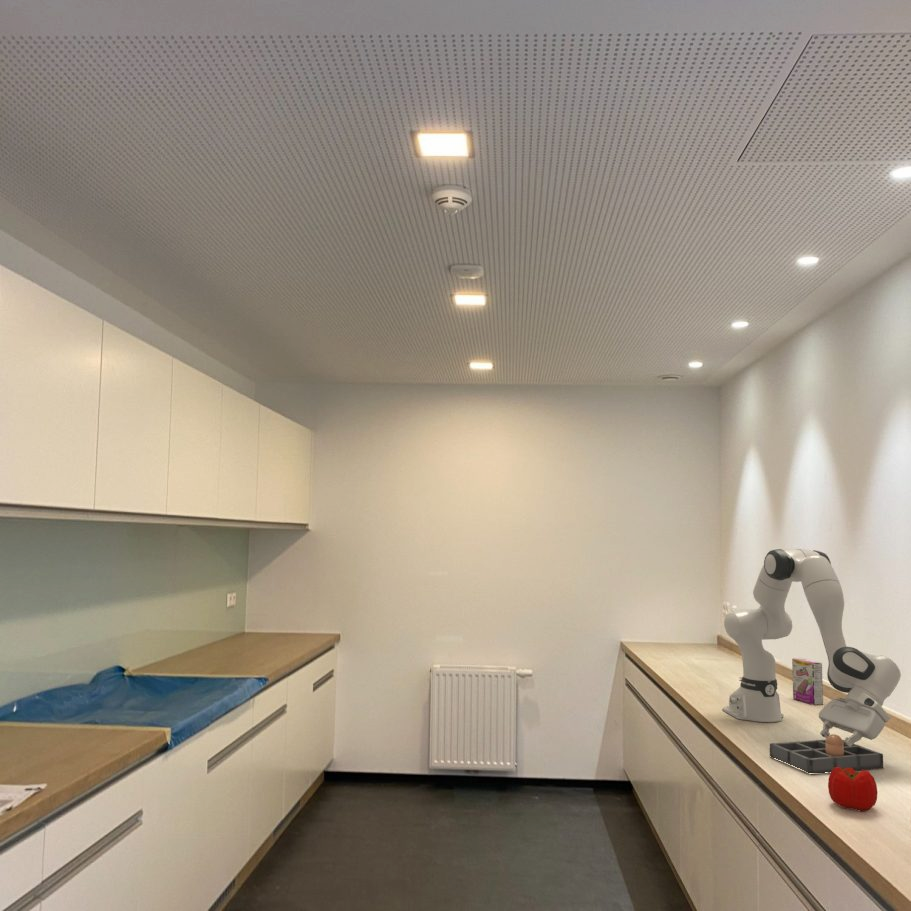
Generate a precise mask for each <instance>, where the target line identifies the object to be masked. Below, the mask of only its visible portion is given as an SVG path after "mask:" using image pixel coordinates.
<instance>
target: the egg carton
mask: <svg viewBox="0 0 911 911" xmlns="http://www.w3.org/2000/svg"><path fill="white" fill-rule="evenodd" d="M842 740H843V743H844V740H845V739H842ZM825 741H826V739H814V740H801V741H787V742H786V741H784V742H772V743H769V757H770V756H771V757H773V758H776V759H778V760H781V761H783V762H786V763H788V764H790V765H793V766H795V767H797V768H800V769H802V770H804V771H806V772H808V773H823V774H826V773H825V772H831V771H832V770H833V769H834V768H835V767H840V768H841V769H842V770H843V769H845V768H853V769H854V770H855V771H856V772H858V771H862V770H865V771H869V770H879V769H881V768H882V769H884V754H883V753H882V752H878V751H875V750H873V749H870V748H868V747H865V746H861V745H859V744H856V743H853V745H852V746H851V747H850V746H847V745H845V743H844V756H834V757H833V756H831V755H828V754H826V744H825ZM771 757H770V758H771ZM773 758H772V759H773ZM778 760H777V761H778Z"/></svg>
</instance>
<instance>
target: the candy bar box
mask: <svg viewBox="0 0 911 911" xmlns="http://www.w3.org/2000/svg"><path fill="white" fill-rule="evenodd" d="M791 661H792V662H791V663H792V664H791V665H792V696H793V698H792V700H795V701H799V702H802V703H805V704H809V705H812V704H813V705H814V706H818V705H817V704H821V705H824V694H823V693H824V688H823V685H824V684H823V662H821V661H820V662H819V661H816V660H812V659H807V658H803V657H796V658H795V657H794V658H792V660H791ZM813 705H812V706H813Z"/></svg>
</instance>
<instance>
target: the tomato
mask: <svg viewBox="0 0 911 911" xmlns="http://www.w3.org/2000/svg"><path fill="white" fill-rule="evenodd" d="M827 782H828V783H827V787H828V794H829V797H830V799H831V800H832V801H833V803H835V804H836V805H838V807H839V806H840V807H842V808H844V809H847V808H848V809H849V810H850V809H851V810H856V811H858V810H860V812H867V811H870V810H871V809H872V808H873V807H874V806H876V803H877V799H878V785H877V782H876V779H875V777H874V776H873V775H872V774H871V772H870V771H869V770H858V771H855V770H854V769H853V768H845V769H843V770H842V769H841V768H840V767H835V768H834V769H833V770H832V771H831V773H829V777H828V781H827ZM848 809H847V810H848Z"/></svg>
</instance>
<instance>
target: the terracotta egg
mask: <svg viewBox="0 0 911 911" xmlns="http://www.w3.org/2000/svg"><path fill="white" fill-rule="evenodd" d="M825 740H826V741H825V744H826V754H828V755H831V756H833V757H834V756H844V743H843V740H844V739H842V738H841V736H839V735H838V734H834V733H833V734H830V735H829V736H828V737H827V738H825Z"/></svg>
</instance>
